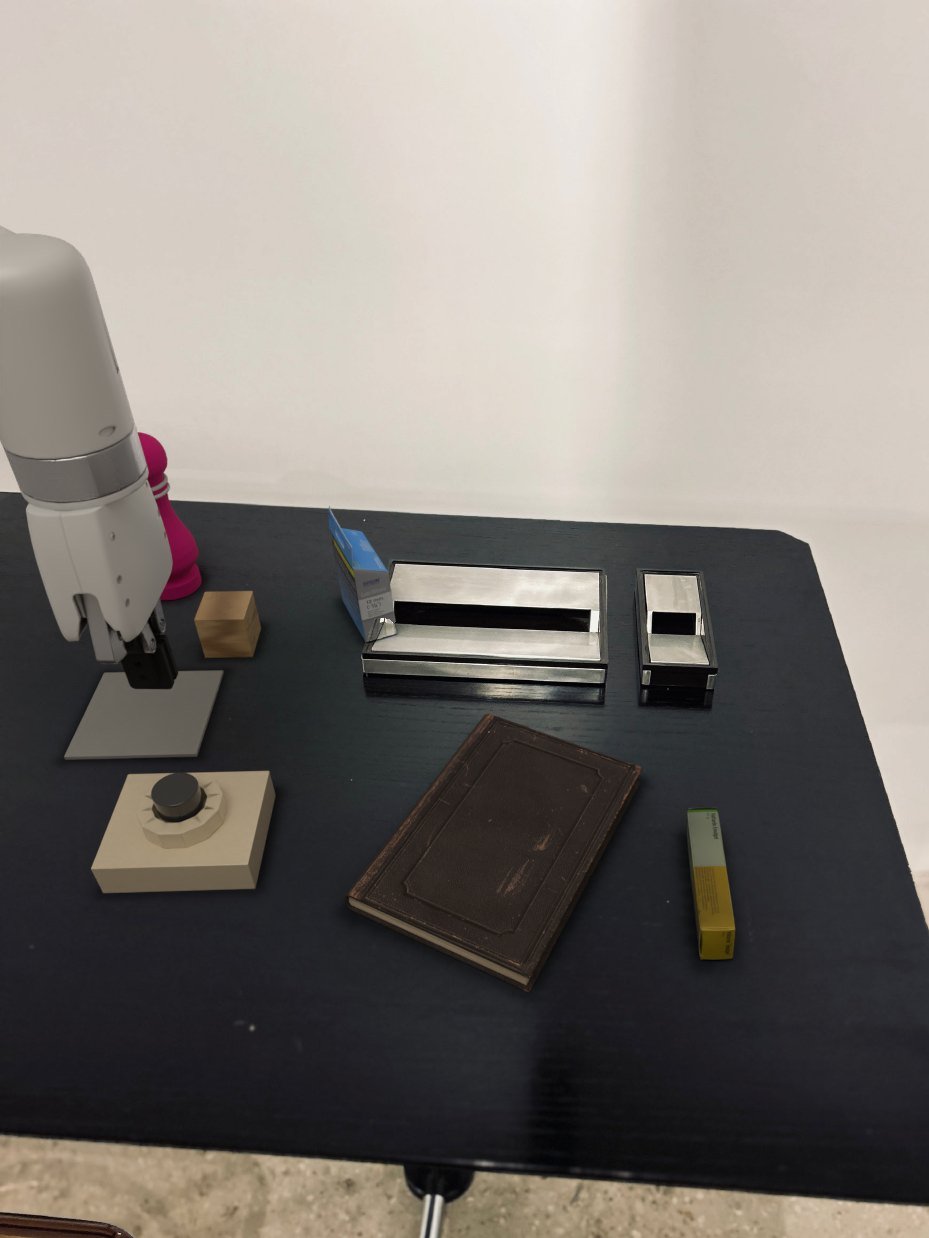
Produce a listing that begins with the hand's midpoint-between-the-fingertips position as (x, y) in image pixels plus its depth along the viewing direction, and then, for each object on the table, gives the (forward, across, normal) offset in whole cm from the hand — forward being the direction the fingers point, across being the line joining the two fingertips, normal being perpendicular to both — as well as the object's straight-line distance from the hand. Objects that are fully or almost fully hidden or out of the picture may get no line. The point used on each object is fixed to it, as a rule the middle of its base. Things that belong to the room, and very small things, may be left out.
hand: (155, 681), depth 66 cm
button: (+10, +4, +1) cm, 11 cm away
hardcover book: (+15, +4, +27) cm, 31 cm away
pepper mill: (+15, -34, -12) cm, 39 cm away
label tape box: (+15, -28, +11) cm, 33 cm away
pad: (+15, -12, -8) cm, 21 cm away
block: (+15, -23, -2) cm, 28 cm away
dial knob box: (+15, +4, +1) cm, 15 cm away
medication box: (+15, +9, +43) cm, 46 cm away
